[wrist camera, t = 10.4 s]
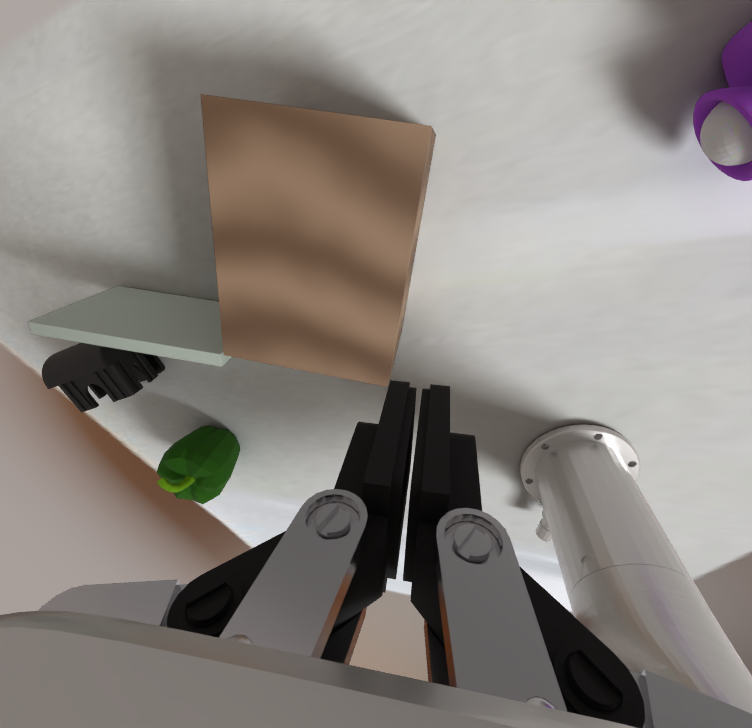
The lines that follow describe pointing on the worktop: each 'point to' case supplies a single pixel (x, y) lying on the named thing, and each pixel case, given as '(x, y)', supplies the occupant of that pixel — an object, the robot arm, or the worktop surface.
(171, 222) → the worktop surface
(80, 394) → the end cap
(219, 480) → the bell pepper
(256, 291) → the cabinet
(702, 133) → the toy camera
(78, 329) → the door
